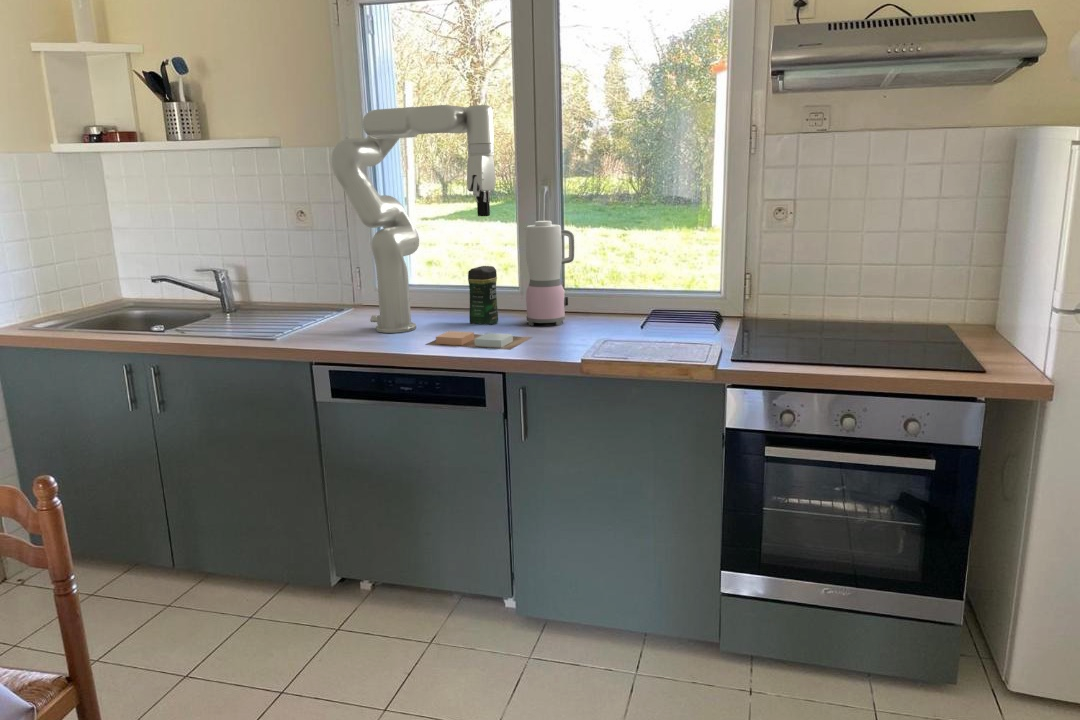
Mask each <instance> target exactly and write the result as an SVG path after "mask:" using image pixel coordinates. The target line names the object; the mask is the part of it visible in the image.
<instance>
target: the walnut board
mask: <svg viewBox="0 0 1080 720" xmlns="http://www.w3.org/2000/svg"><path fill="white" fill-rule="evenodd" d="M482 335H483V334H481V333H479V334H477V333H474V340H472V341H470V342H468V343H466V344H463V345H448V344H436V339H434V340H432V341H430V342H428V343H426V344H425V346H426V345H428V346H440V347H441V346H443V347H458V348H459V347H460V348H476V349H477V348H478V349H490V350H491V349H493V350H513V349H514V348H516V347H518V346H519V345H522V344H523V343H525V342H527V341H528V340H530V339H532V338H533V336H516V335H515V336H514V335H513V342H511V343H509V344H507V345H505V346H504V347H502V348H497V347H481V346H475V338H478V337H480V336H482Z"/></svg>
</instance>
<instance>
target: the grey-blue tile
mask: <svg viewBox="0 0 1080 720" xmlns="http://www.w3.org/2000/svg"><path fill="white" fill-rule="evenodd" d="M481 335H482V336H480V337H478V338H475V346H481V347H497V348H502V347H504V346H505V345H507V344H509V343H511V342H513V336H514V334H510V333H491V332H490V333H489V332H486V333H484V334H481Z"/></svg>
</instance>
